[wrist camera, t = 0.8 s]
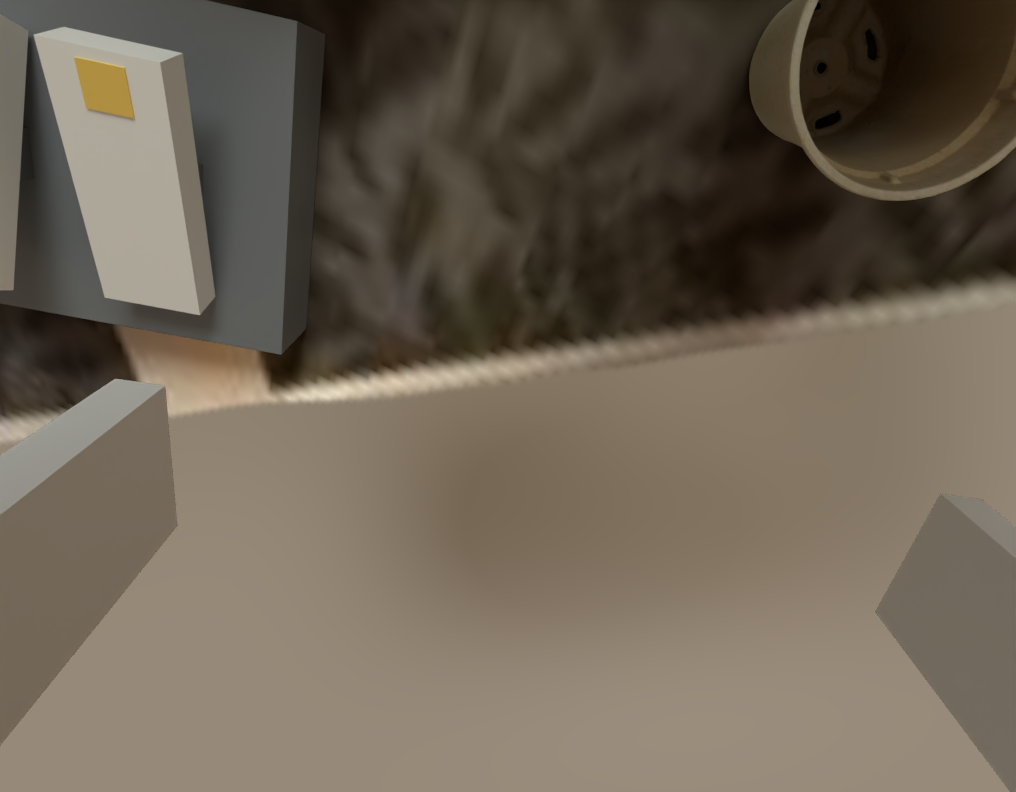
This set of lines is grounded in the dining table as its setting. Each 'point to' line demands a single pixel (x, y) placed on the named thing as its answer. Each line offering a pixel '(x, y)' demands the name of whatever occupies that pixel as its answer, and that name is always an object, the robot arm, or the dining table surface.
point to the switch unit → (221, 164)
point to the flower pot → (892, 90)
